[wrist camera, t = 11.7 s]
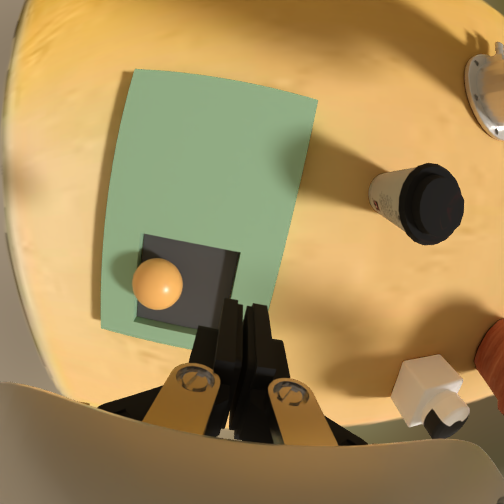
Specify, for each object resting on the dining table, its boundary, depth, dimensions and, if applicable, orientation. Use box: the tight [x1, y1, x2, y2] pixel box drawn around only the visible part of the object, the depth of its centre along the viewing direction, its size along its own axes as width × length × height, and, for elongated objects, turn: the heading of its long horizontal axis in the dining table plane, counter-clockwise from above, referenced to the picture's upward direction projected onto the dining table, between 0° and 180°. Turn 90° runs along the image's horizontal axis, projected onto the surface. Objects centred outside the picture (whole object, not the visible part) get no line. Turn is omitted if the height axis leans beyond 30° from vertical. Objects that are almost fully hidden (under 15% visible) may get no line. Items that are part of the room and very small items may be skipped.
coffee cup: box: [369, 163, 464, 245], centre depth 25 cm, size 7×7×10 cm
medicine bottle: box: [391, 354, 470, 439], centre depth 31 cm, size 7×7×12 cm
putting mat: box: [101, 69, 318, 350], centre depth 29 cm, size 28×18×2 cm, turn 168°
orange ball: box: [132, 258, 183, 310], centre depth 28 cm, size 5×5×5 cm
